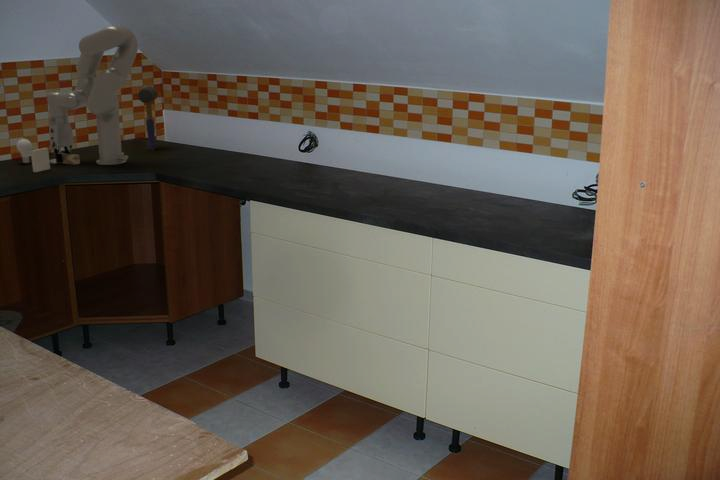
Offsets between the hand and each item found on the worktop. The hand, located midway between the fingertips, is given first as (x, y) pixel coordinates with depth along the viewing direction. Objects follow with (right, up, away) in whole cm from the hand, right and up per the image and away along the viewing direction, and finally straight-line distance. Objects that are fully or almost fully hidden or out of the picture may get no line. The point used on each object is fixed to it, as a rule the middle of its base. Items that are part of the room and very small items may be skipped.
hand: (63, 161), depth 362 cm
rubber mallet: (+31, +9, +32) cm, 46 cm away
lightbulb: (-16, -1, -1) cm, 16 cm away
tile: (-3, -5, -16) cm, 17 cm away
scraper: (0, -1, 0) cm, 1 cm away
